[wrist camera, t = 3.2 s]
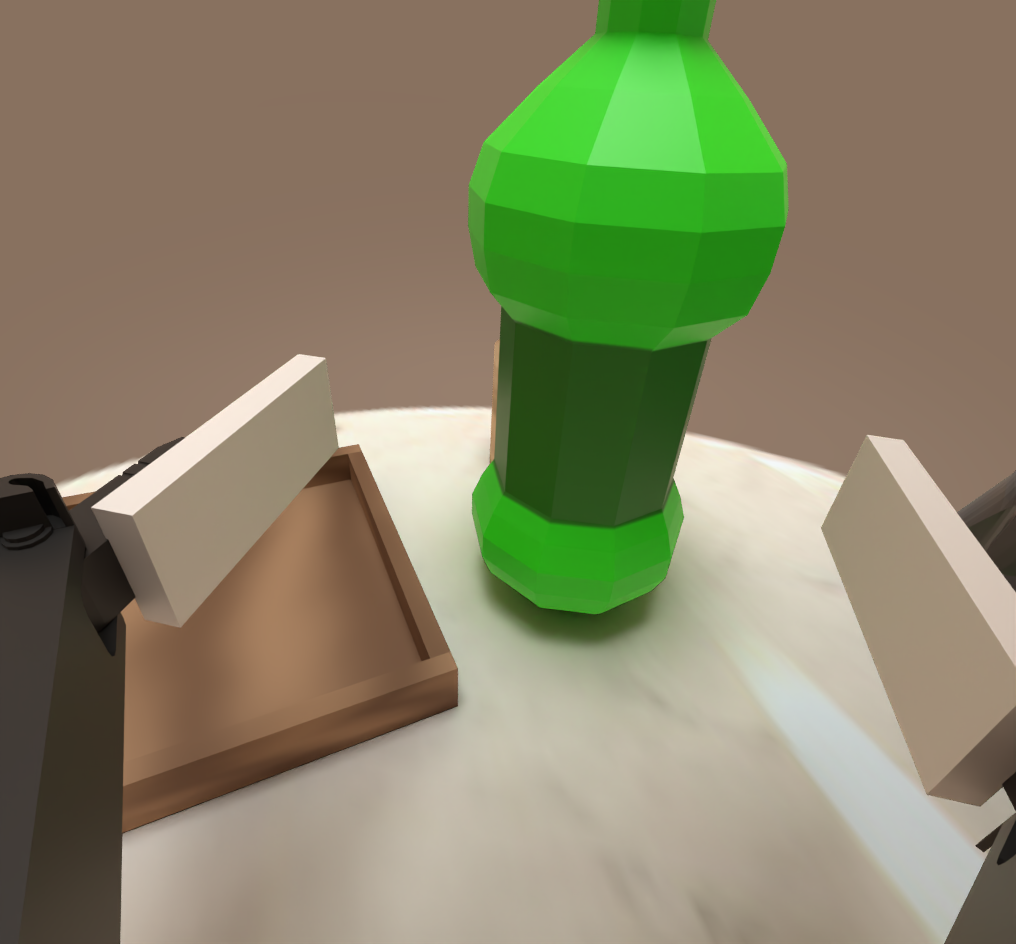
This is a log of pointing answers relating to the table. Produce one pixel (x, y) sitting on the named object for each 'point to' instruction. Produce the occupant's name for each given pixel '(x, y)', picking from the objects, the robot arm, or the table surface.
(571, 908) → the table surface
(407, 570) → the tray
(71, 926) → the robot arm
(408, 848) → the table surface
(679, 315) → the plastic bottle
